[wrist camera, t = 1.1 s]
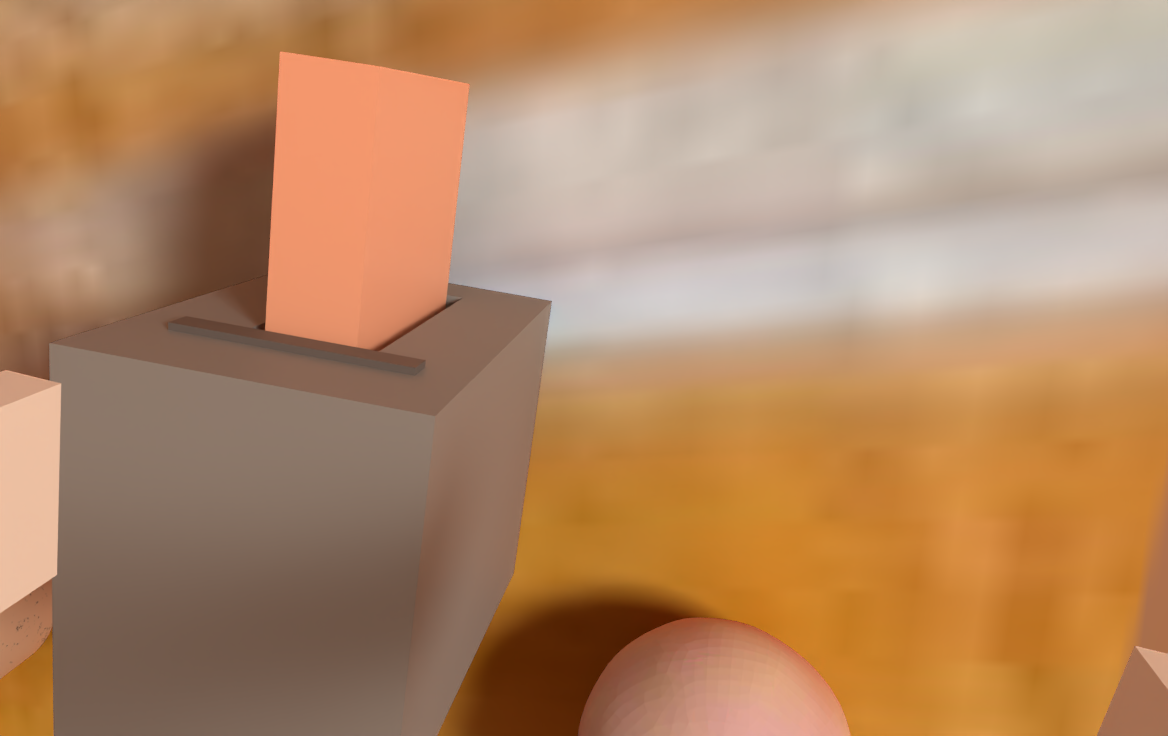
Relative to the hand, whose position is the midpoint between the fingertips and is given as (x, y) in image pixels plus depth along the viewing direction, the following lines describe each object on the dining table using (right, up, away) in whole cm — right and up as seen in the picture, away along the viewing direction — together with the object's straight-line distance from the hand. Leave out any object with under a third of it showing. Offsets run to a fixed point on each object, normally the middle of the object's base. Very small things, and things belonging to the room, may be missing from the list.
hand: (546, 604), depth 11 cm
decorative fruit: (+5, -9, +25) cm, 27 cm away
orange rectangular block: (-6, +4, +20) cm, 22 cm away
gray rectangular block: (-6, +1, +24) cm, 25 cm away
